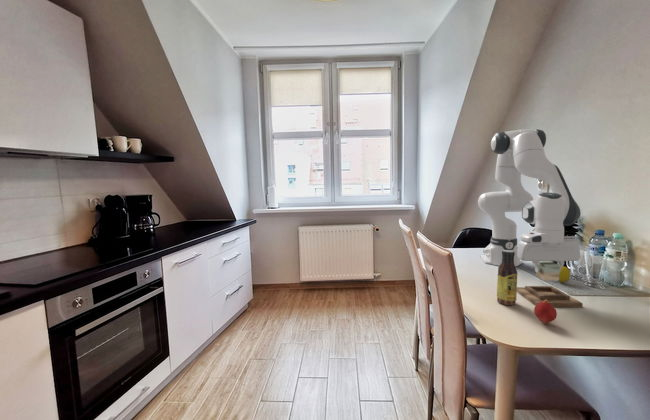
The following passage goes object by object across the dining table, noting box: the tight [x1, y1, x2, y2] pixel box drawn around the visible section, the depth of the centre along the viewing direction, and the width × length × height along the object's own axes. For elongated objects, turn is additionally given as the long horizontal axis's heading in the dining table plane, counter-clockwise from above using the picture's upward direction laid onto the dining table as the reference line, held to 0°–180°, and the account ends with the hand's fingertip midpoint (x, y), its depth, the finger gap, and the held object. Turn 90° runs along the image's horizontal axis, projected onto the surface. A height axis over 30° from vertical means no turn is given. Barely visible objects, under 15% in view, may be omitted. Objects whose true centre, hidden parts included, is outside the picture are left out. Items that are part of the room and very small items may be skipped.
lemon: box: [558, 265, 571, 284], centre depth 125 cm, size 6×6×8 cm
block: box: [536, 261, 560, 282], centre depth 109 cm, size 5×5×6 cm
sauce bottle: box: [496, 250, 518, 306], centre depth 108 cm, size 7×6×20 cm
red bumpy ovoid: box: [533, 300, 558, 325], centre depth 92 cm, size 6×6×8 cm
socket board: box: [517, 285, 583, 308], centre depth 110 cm, size 15×15×3 cm
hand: (547, 272), depth 109 cm, fingers closed on block, 5 cm apart
